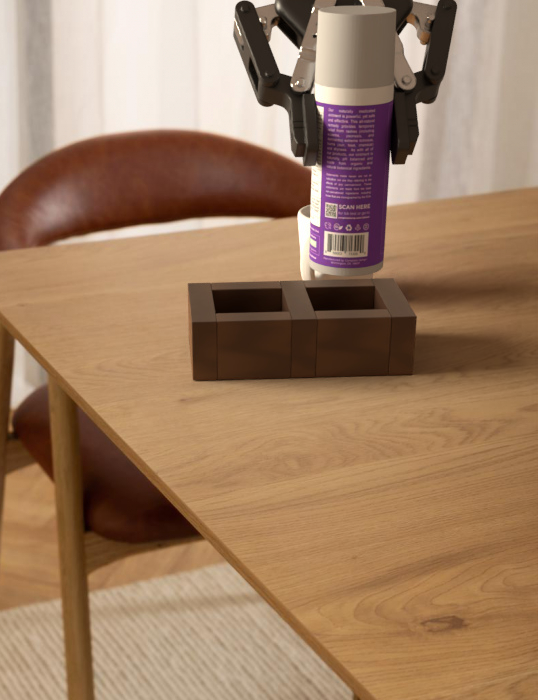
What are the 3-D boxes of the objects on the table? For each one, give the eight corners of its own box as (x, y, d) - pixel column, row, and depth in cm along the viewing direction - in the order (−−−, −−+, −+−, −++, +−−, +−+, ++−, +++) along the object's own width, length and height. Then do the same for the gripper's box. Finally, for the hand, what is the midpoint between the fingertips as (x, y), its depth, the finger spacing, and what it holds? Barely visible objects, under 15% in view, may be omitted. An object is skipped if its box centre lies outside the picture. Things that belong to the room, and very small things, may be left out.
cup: (342, 320, 108) (346, 234, 105) (266, 306, 112) (267, 222, 108) (391, 288, 116) (396, 207, 113) (318, 275, 120) (321, 197, 116)
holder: (390, 332, 106) (393, 277, 103) (412, 374, 97) (417, 316, 94) (188, 337, 105) (187, 283, 102) (192, 380, 96) (191, 322, 94)
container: (398, 264, 74) (415, 9, 67) (351, 281, 72) (363, 16, 65) (341, 249, 77) (351, 3, 70) (293, 265, 75) (299, 10, 68)
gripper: (223, -124, 71) (238, 123, 66) (460, -127, 71) (493, 118, 66) (219, -34, 78) (232, 195, 73) (434, -38, 78) (462, 189, 73)
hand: (356, 157), depth 70 cm, fingers closed on container, 4 cm apart
